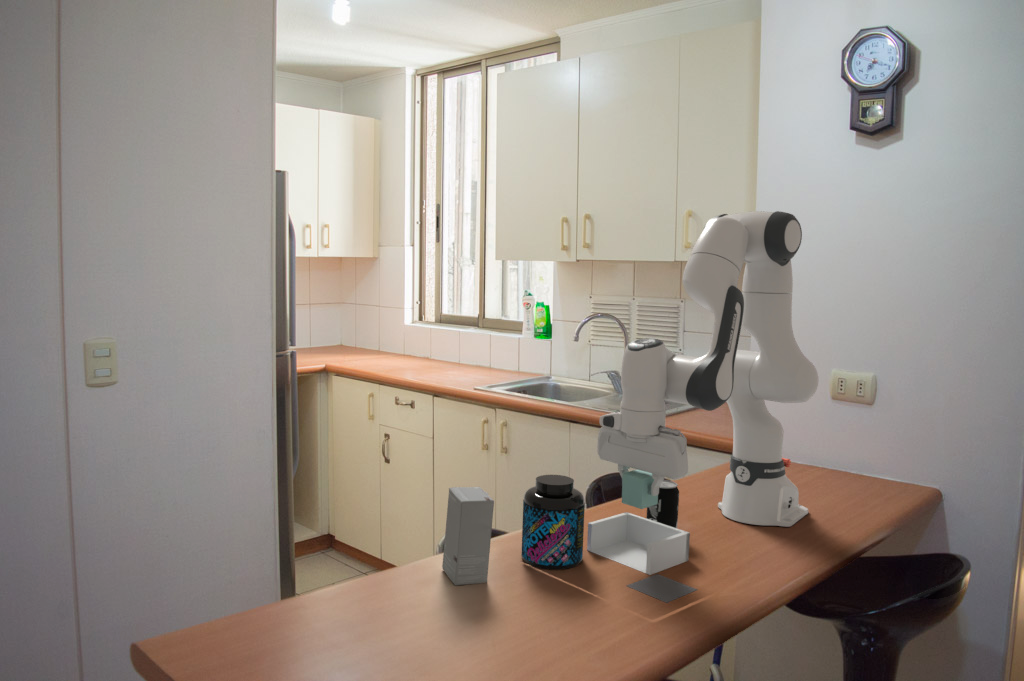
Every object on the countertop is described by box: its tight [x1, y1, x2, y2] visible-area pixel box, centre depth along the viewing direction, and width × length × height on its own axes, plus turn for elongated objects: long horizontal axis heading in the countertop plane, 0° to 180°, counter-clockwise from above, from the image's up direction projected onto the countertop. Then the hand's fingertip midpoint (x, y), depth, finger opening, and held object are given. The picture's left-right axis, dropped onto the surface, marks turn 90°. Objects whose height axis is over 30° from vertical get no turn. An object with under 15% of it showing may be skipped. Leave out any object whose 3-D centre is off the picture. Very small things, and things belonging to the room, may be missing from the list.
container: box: [521, 474, 586, 571], centre depth 151 cm, size 12×12×16 cm
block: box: [621, 469, 658, 510], centre depth 154 cm, size 5×5×6 cm
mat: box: [626, 573, 698, 604], centre depth 140 cm, size 9×9×1 cm
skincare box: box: [441, 486, 495, 586], centre depth 142 cm, size 8×7×16 cm
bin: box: [586, 511, 691, 576], centre depth 155 cm, size 12×16×6 cm
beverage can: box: [646, 479, 680, 529], centre depth 167 cm, size 7×7×12 cm
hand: (640, 490), depth 154 cm, fingers closed on block, 5 cm apart
